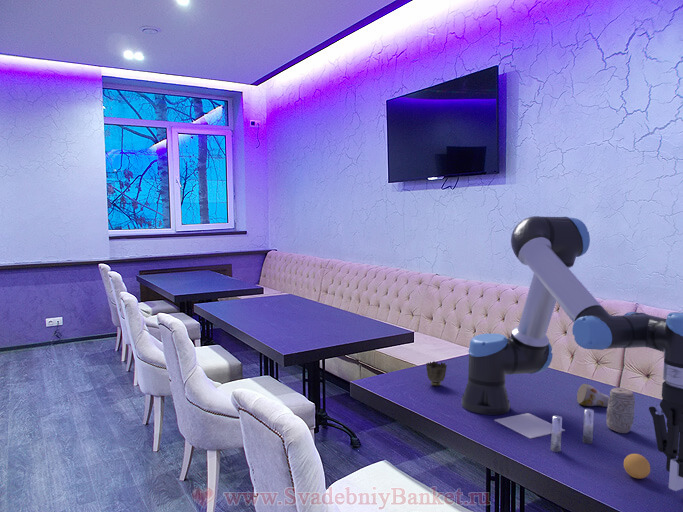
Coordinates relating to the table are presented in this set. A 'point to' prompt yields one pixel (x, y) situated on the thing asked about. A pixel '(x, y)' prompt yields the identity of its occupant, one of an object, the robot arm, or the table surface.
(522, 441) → the table surface
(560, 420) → the post
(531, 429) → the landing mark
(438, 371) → the cup
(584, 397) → the mug
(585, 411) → the post
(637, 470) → the ball
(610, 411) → the carving
